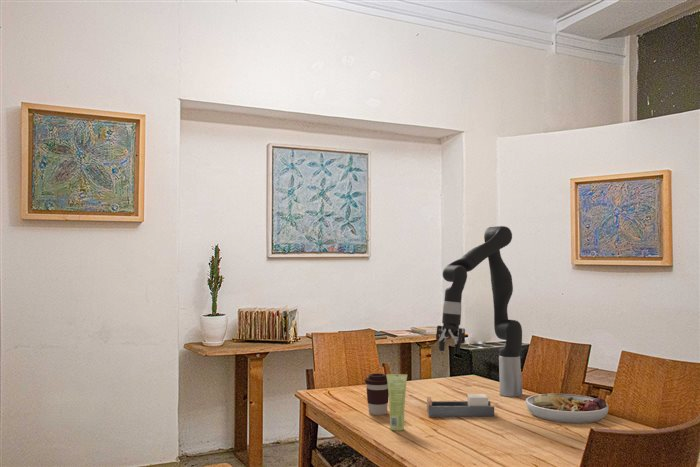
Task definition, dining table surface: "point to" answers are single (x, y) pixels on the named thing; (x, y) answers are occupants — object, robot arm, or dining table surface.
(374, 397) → the coffee cup
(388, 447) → the dining table surface
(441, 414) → the chute
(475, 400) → the block
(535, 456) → the dining table surface
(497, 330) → the robot arm
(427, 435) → the dining table surface
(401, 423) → the tube
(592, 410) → the bowl
